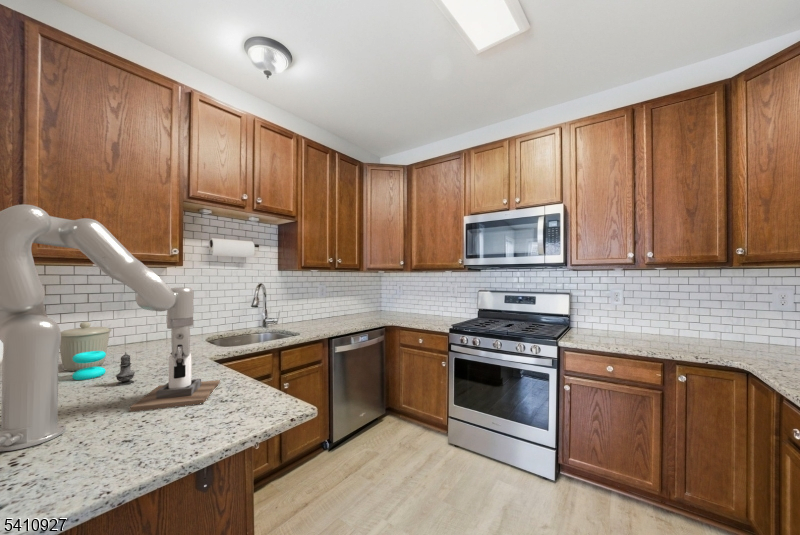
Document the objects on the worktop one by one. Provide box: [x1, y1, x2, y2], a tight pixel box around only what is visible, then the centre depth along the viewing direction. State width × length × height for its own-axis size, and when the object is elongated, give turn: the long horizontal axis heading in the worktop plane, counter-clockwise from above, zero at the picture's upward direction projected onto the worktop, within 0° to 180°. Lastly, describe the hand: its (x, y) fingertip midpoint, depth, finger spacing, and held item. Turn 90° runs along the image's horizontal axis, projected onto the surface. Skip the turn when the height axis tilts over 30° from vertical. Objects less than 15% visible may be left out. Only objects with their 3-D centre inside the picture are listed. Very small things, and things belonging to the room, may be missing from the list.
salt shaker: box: [115, 352, 136, 387], centre depth 124 cm, size 6×6×12 cm
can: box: [168, 351, 192, 389], centre depth 110 cm, size 6×6×12 cm
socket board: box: [129, 378, 221, 413], centre depth 110 cm, size 20×20×4 cm
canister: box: [59, 321, 112, 372], centre depth 146 cm, size 18×18×21 cm
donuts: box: [71, 351, 107, 381], centre depth 132 cm, size 10×10×10 cm
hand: (179, 374), depth 110 cm, fingers closed on can, 6 cm apart
